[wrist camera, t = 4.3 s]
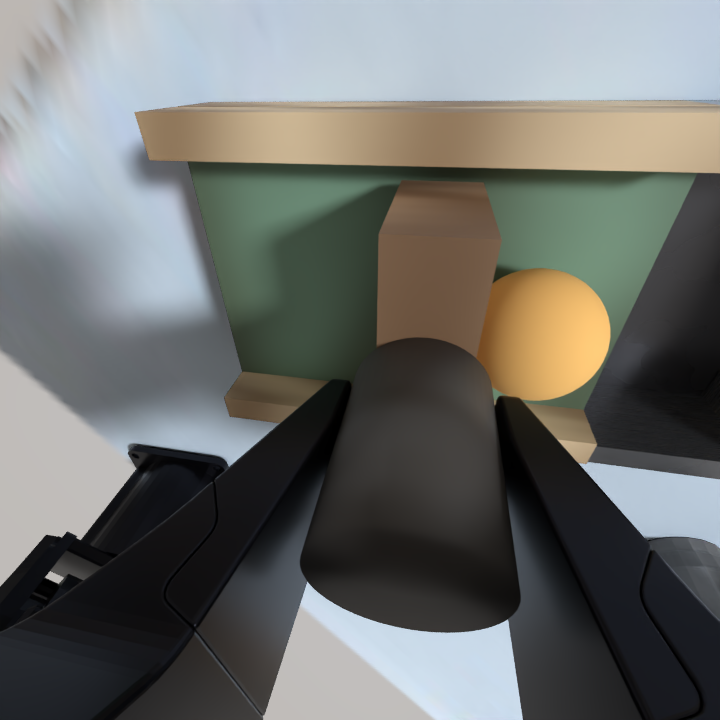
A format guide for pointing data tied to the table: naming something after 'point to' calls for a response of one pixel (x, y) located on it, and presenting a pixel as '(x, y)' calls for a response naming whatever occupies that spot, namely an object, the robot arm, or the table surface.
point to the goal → (669, 354)
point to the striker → (422, 434)
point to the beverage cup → (694, 566)
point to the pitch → (375, 195)
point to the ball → (542, 334)
